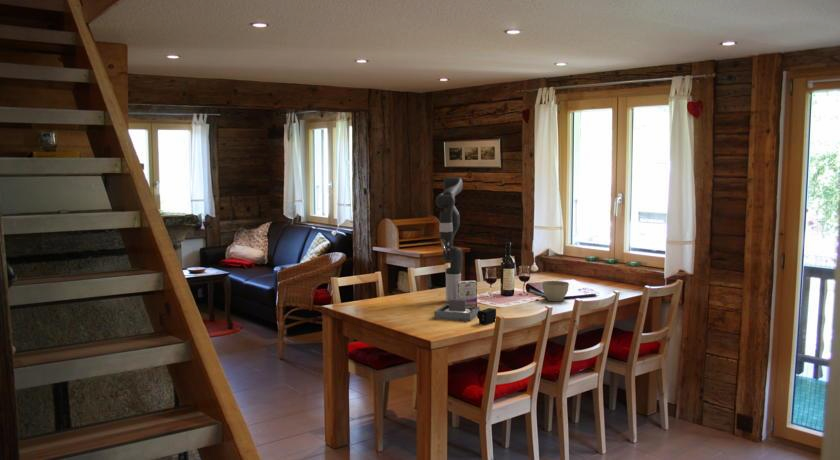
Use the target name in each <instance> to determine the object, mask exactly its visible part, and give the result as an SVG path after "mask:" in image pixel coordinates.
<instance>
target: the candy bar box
mask: <svg viewBox="0 0 840 460" xmlns="http://www.w3.org/2000/svg"><path fill="white" fill-rule="evenodd" d="M477 282H478V281H476V280H461V281H457V300H466V306H477V307H478V283H477Z"/></svg>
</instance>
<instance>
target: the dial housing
mask: <svg viewBox="0 0 840 460" xmlns="http://www.w3.org/2000/svg"><path fill="white" fill-rule="evenodd" d="M480 308H481V307H480V306H478V305H477V306H466V309H469V310H470V312H469V313H458V312H445V310H446V309H449V304H446V303H445V304H444V305H443V306H441V307H439V308H438V309H436V310H435V311H433V316H434V317H433V318H434V319H435V320H445V321H448V320H449V321H458V322H459V321H460V322H472V320H474V319H475V318H476V317H477V313H478V311H479V310H481V309H480Z"/></svg>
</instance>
